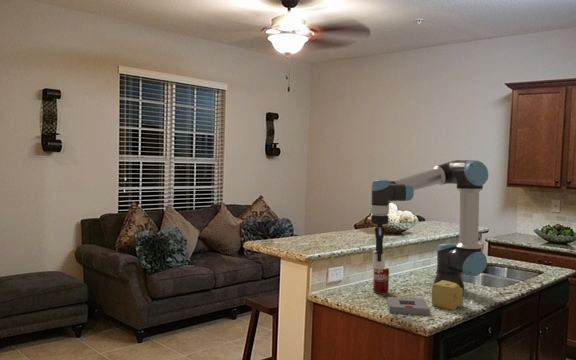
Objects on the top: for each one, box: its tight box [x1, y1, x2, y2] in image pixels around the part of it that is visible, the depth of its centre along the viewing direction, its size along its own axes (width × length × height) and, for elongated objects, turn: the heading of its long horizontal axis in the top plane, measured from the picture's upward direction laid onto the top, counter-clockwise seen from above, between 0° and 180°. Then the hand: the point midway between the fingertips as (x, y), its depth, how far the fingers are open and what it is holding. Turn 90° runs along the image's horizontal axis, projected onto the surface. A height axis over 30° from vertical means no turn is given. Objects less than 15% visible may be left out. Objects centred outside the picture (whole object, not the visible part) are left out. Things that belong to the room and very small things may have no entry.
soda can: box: [372, 266, 390, 295], centre depth 248 cm, size 7×7×12 cm
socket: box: [386, 296, 430, 316], centre depth 221 cm, size 16×16×3 cm
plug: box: [372, 249, 386, 273], centre depth 226 cm, size 5×5×11 cm
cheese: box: [431, 280, 464, 311], centre depth 226 cm, size 10×11×10 cm
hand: (378, 267), depth 226 cm, fingers closed on plug, 5 cm apart
